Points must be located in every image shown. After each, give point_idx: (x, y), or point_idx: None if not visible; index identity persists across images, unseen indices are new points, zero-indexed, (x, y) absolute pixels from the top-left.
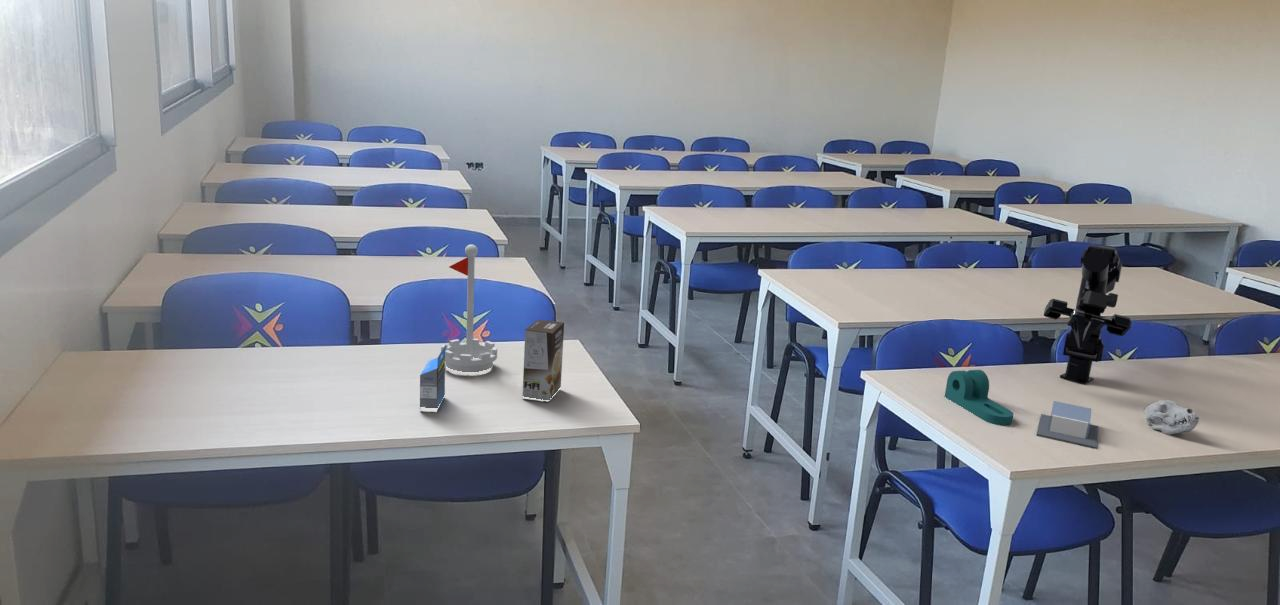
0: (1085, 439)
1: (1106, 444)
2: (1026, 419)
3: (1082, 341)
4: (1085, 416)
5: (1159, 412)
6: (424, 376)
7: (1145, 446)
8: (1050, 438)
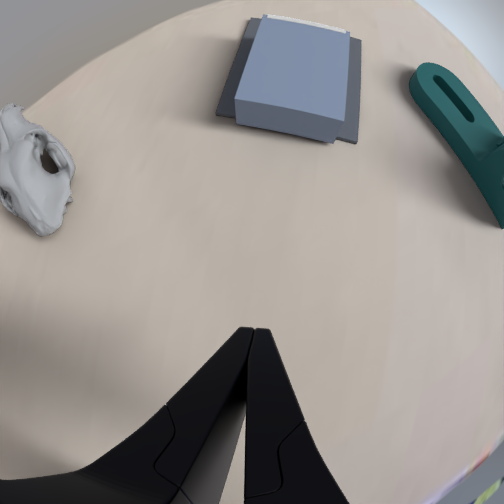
0: None
1: (223, 40)
2: (386, 111)
3: (250, 359)
4: (266, 43)
5: (49, 136)
6: None
7: (139, 64)
8: None
